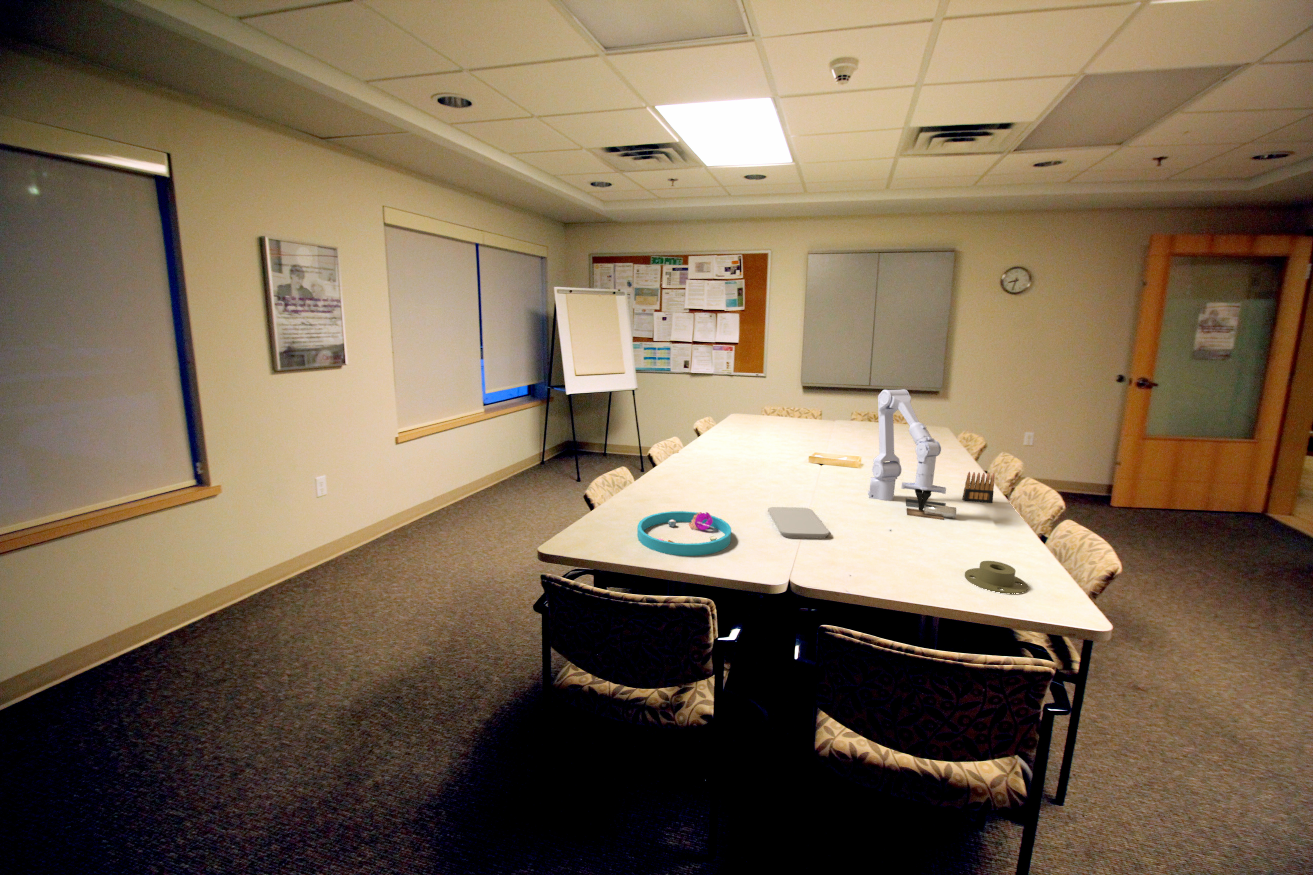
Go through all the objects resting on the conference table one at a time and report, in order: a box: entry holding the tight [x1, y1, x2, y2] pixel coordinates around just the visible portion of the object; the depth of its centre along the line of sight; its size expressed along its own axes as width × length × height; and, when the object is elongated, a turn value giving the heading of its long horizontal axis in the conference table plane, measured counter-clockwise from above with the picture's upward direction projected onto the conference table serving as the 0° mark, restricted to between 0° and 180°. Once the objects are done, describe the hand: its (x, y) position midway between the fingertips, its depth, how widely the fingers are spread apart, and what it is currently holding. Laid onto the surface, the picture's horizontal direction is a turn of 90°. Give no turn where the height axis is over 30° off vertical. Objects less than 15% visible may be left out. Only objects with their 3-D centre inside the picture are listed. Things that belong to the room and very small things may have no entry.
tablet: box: [767, 506, 830, 540], centre depth 198 cm, size 16×26×2 cm, turn 0°
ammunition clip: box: [961, 471, 995, 504], centre depth 228 cm, size 11×2×12 cm, turn 80°
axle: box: [923, 504, 957, 519], centre depth 207 cm, size 10×4×4 cm, turn 68°
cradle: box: [905, 497, 947, 509], centre depth 219 cm, size 14×7×2 cm, turn 69°
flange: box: [964, 560, 1028, 595], centre depth 158 cm, size 5×15×15 cm
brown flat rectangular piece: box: [905, 507, 945, 521], centre depth 209 cm, size 12×7×2 cm, turn 69°
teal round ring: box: [636, 510, 732, 557], centre depth 185 cm, size 30×30×6 cm
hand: (920, 509), depth 209 cm, fingers closed
